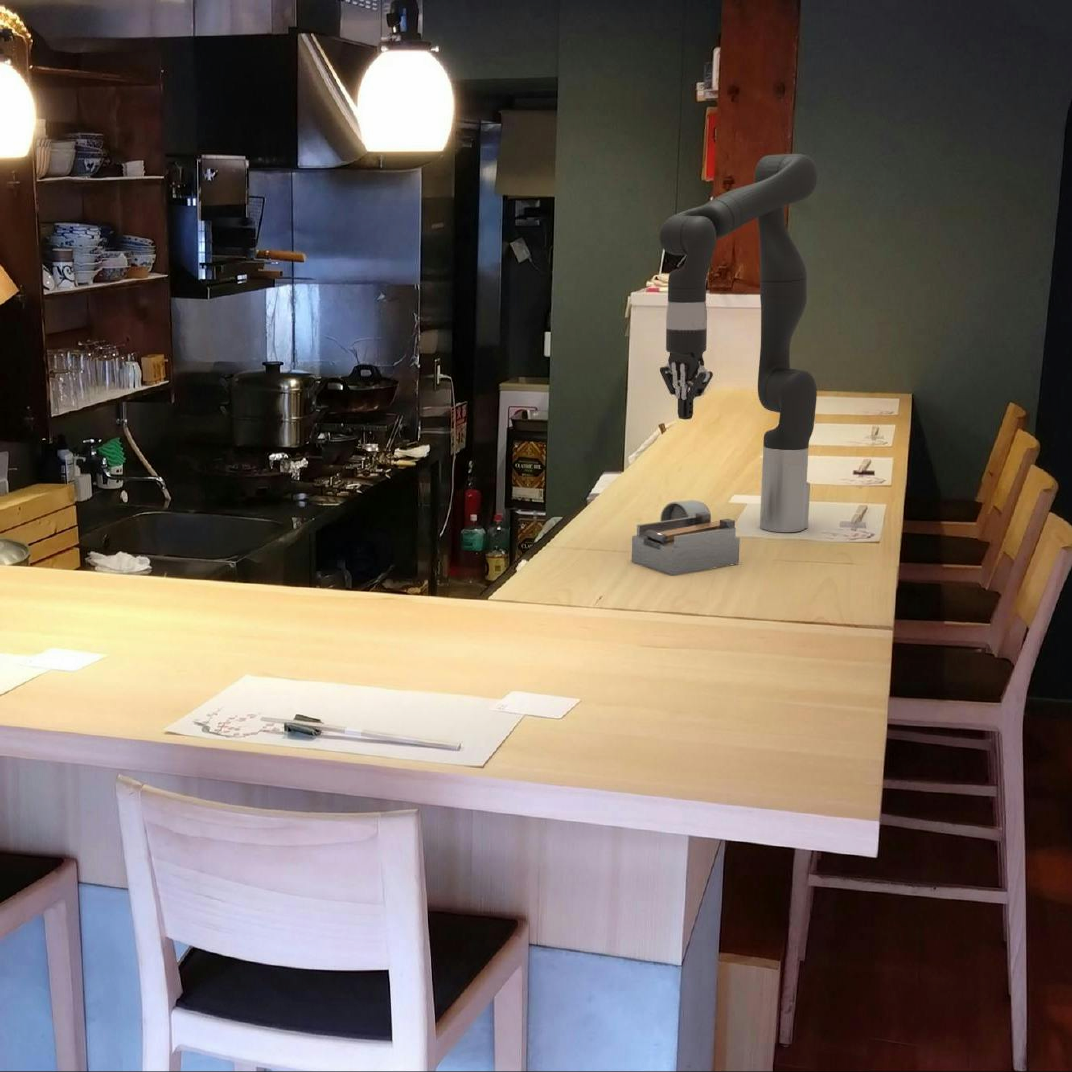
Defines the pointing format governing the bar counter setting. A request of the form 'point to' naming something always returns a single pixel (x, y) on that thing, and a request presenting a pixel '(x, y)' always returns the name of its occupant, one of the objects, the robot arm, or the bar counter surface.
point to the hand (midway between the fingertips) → (685, 418)
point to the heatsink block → (686, 546)
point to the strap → (681, 531)
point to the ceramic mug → (683, 510)
